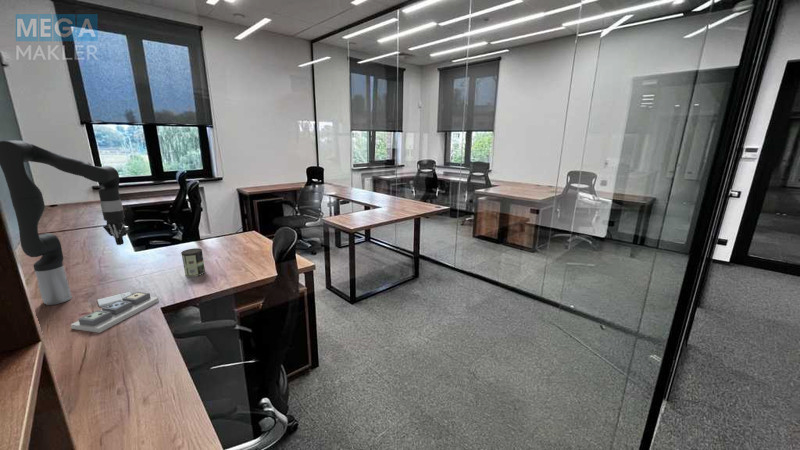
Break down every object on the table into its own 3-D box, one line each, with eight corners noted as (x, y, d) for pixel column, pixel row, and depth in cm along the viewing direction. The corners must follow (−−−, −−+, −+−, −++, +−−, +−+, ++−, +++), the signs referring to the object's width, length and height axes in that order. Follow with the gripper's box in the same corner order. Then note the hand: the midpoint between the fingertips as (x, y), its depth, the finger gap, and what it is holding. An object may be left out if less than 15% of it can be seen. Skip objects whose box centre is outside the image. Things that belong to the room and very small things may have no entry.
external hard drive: (97, 302, 155) (130, 293, 164) (99, 308, 150) (133, 299, 158) (97, 299, 155) (129, 291, 163) (99, 305, 149) (132, 296, 158)
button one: (127, 302, 150) (126, 297, 150) (137, 297, 155) (136, 292, 154) (136, 303, 149) (135, 298, 149) (146, 298, 154) (145, 293, 154)
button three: (107, 312, 142) (106, 306, 141) (119, 306, 147) (117, 301, 146) (116, 313, 141) (115, 307, 140) (128, 307, 146) (126, 302, 145)
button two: (84, 323, 133) (83, 317, 132) (97, 316, 138) (96, 311, 137) (94, 324, 132) (93, 318, 132) (107, 318, 137) (106, 312, 136)
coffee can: (202, 268, 195) (198, 246, 192) (207, 273, 189) (204, 251, 185) (182, 273, 188) (178, 250, 184) (187, 278, 181) (183, 255, 178)
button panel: (71, 328, 133) (69, 319, 131) (134, 298, 158) (133, 290, 157) (99, 332, 130) (97, 323, 129) (158, 301, 156) (157, 292, 155)
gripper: (92, 210, 148) (100, 245, 152) (116, 212, 145) (123, 248, 150) (109, 207, 155) (116, 241, 159) (132, 208, 153) (139, 243, 157)
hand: (120, 244), depth 155 cm, fingers closed
